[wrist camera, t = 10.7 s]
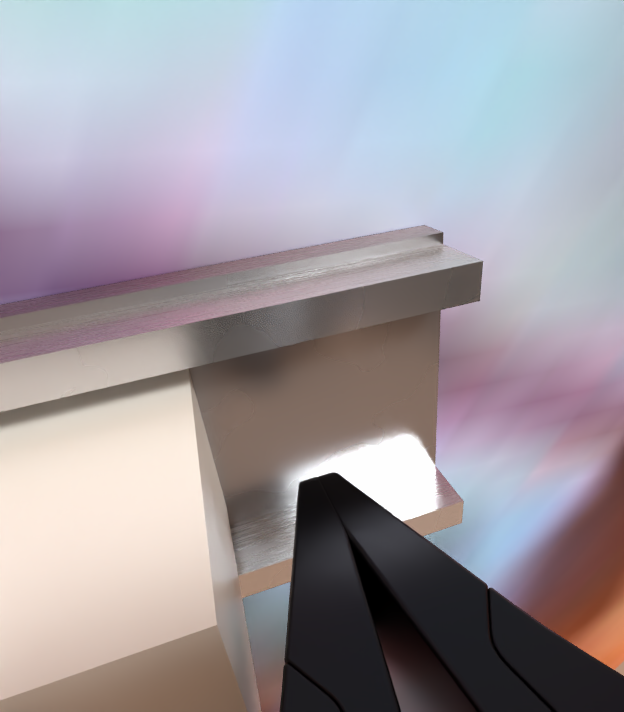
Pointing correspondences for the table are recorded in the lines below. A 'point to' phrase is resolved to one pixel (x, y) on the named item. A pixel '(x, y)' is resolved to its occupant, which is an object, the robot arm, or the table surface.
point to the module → (118, 558)
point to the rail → (274, 372)
